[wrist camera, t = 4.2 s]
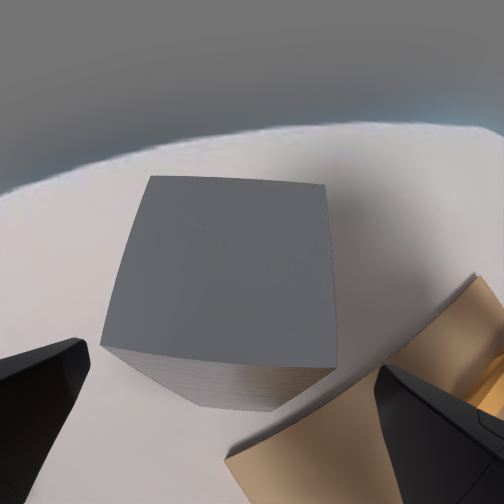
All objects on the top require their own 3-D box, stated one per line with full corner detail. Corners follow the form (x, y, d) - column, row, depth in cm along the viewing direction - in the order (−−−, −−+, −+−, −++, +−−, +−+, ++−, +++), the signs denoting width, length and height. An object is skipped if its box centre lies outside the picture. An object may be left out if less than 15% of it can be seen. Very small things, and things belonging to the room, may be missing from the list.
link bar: (271, 411, 16) (336, 367, 5) (199, 406, 16) (99, 345, 5) (274, 345, 18) (324, 185, 7) (206, 339, 18) (150, 175, 7)
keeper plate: (353, 619, 7) (373, 644, 3) (224, 459, 14) (219, 467, 11) (553, 419, 13) (585, 409, 10) (473, 280, 20) (501, 254, 17)
